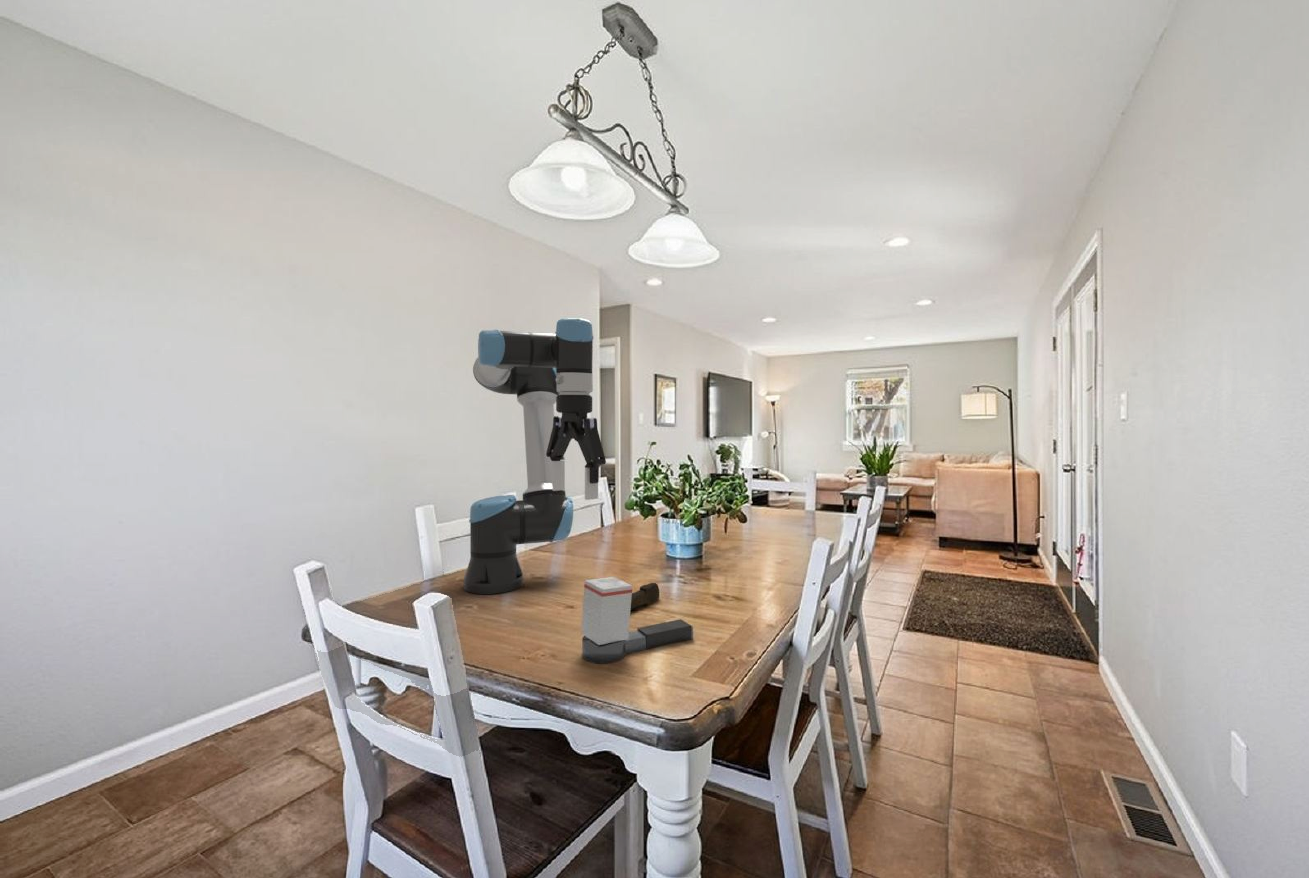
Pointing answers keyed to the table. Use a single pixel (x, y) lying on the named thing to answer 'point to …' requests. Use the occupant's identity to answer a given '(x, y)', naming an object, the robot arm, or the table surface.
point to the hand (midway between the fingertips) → (574, 494)
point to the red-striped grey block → (606, 610)
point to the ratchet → (637, 641)
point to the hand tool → (645, 595)
